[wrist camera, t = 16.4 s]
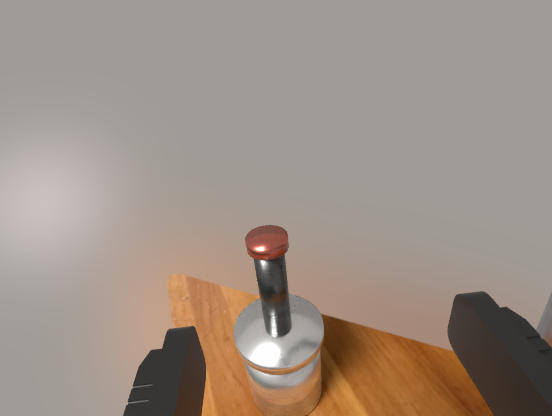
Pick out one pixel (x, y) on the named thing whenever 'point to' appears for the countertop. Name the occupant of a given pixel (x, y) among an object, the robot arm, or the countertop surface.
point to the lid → (276, 312)
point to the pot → (287, 390)
